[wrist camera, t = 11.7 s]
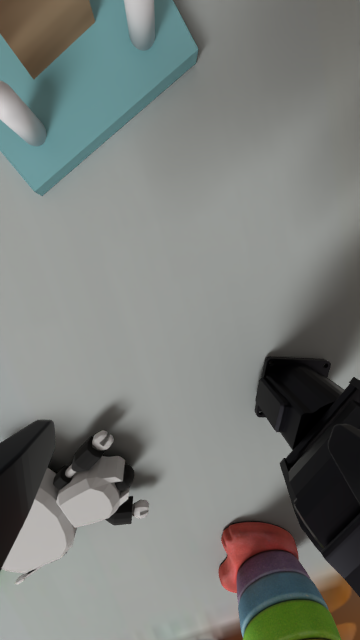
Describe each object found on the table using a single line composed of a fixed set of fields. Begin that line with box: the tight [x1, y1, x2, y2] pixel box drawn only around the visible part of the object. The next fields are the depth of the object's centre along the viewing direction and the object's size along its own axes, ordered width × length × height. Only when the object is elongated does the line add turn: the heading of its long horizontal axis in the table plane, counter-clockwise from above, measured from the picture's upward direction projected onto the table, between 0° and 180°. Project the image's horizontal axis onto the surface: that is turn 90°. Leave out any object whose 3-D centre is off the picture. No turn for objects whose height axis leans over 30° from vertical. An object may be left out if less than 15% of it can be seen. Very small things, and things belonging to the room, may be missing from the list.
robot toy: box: [2, 430, 149, 584], centre depth 21 cm, size 12×4×15 cm
